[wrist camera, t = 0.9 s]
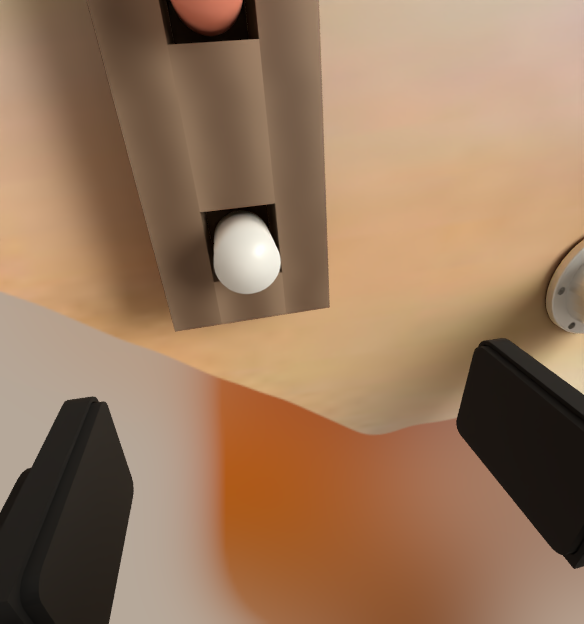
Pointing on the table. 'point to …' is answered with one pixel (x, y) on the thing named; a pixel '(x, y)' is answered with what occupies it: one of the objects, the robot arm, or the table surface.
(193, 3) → the red plug
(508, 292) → the table surface
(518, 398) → the robot arm
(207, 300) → the plug block
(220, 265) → the white plug
